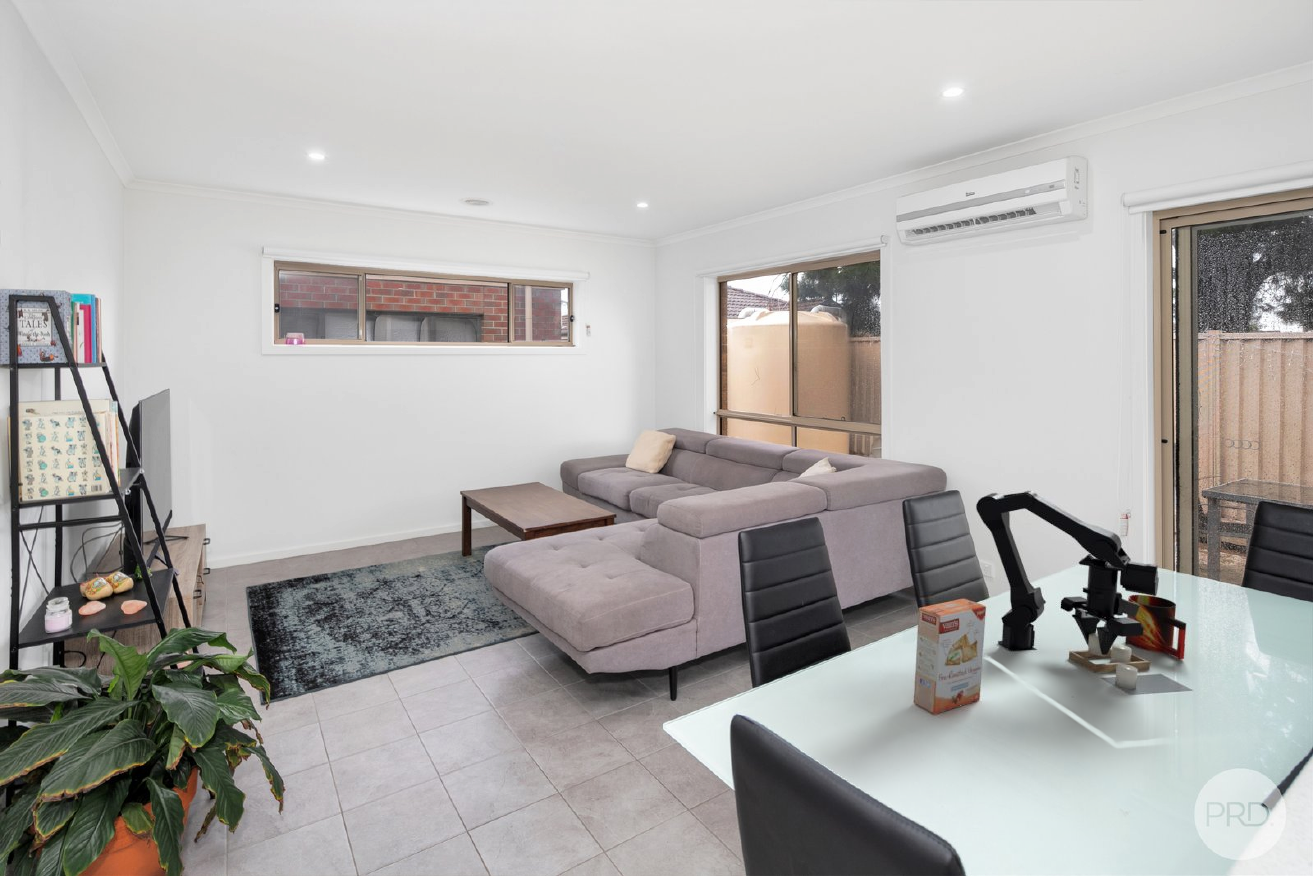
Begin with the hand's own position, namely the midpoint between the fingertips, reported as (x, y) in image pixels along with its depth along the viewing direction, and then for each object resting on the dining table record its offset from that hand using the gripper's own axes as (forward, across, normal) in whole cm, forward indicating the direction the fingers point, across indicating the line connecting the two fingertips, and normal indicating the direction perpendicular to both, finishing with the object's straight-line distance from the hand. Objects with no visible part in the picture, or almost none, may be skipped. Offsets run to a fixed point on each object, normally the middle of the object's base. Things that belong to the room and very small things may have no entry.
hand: (1097, 651), depth 159 cm
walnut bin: (+4, 0, -3) cm, 5 cm away
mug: (+4, +7, -23) cm, 24 cm away
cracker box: (+4, -11, +44) cm, 46 cm away
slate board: (+4, -10, -3) cm, 12 cm away
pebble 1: (0, 0, 0) cm, 0 cm away
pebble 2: (+3, 0, -6) cm, 7 cm away
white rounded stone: (+3, -10, +2) cm, 11 cm away
